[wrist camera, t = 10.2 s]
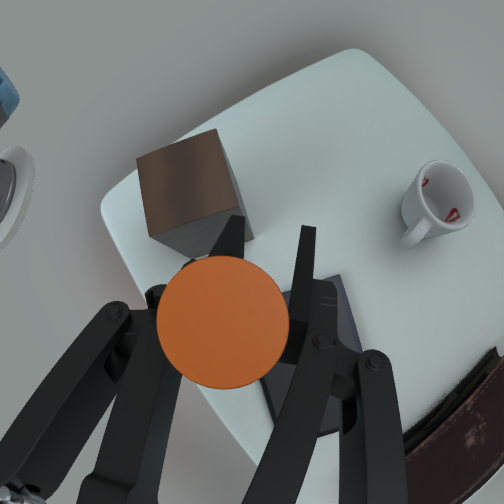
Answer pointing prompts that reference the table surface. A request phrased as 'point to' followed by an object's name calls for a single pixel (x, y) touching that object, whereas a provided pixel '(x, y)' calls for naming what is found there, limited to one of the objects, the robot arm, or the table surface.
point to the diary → (459, 439)
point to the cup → (437, 202)
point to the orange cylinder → (222, 322)
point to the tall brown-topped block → (190, 194)
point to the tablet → (282, 373)
